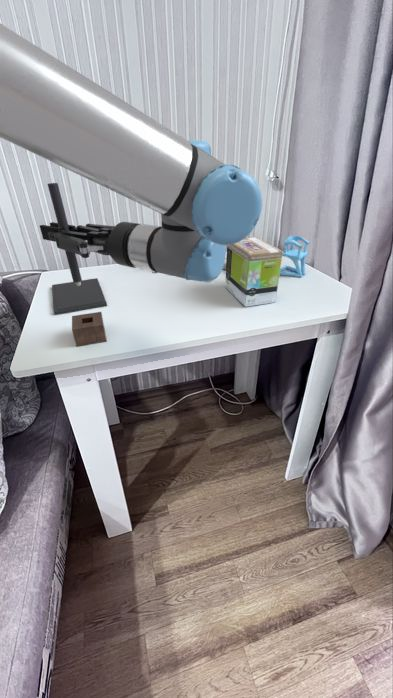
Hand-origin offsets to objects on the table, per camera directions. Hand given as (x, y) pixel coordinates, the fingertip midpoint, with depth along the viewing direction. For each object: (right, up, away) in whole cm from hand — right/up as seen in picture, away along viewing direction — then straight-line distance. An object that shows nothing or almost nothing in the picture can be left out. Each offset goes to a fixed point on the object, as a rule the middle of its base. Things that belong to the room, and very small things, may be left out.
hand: (48, 230), depth 66 cm
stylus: (+5, -11, +4) cm, 12 cm away
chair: (+63, +1, +43) cm, 76 cm away
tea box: (+46, -8, +29) cm, 55 cm away
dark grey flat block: (-5, -8, +30) cm, 32 cm away
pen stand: (+5, -21, +11) cm, 25 cm away
